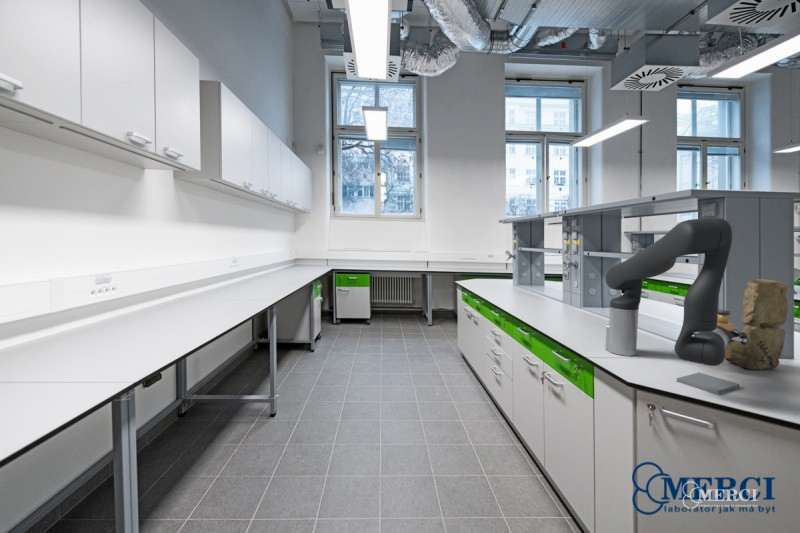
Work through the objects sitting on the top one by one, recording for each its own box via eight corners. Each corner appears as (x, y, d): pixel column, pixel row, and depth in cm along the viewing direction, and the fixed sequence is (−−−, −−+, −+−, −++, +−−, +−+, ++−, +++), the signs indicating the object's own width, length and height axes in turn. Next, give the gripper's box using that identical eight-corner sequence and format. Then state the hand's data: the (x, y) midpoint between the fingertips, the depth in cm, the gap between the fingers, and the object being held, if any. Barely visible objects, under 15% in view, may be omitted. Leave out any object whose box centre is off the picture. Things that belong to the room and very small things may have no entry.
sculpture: (755, 361, 124) (762, 277, 122) (785, 371, 115) (793, 280, 113) (722, 362, 124) (728, 277, 121) (749, 372, 115) (756, 280, 112)
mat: (676, 381, 107) (676, 378, 107) (699, 375, 111) (699, 372, 111) (717, 394, 98) (717, 391, 97) (739, 387, 102) (739, 384, 102)
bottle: (704, 353, 118) (708, 309, 116) (713, 351, 120) (717, 307, 119) (725, 359, 113) (729, 312, 111) (734, 356, 115) (738, 311, 114)
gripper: (746, 332, 101) (754, 323, 111) (683, 322, 112) (696, 315, 123) (743, 357, 102) (752, 346, 112) (681, 345, 113) (694, 336, 123)
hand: (722, 330), depth 117 cm, fingers closed on bottle, 5 cm apart
